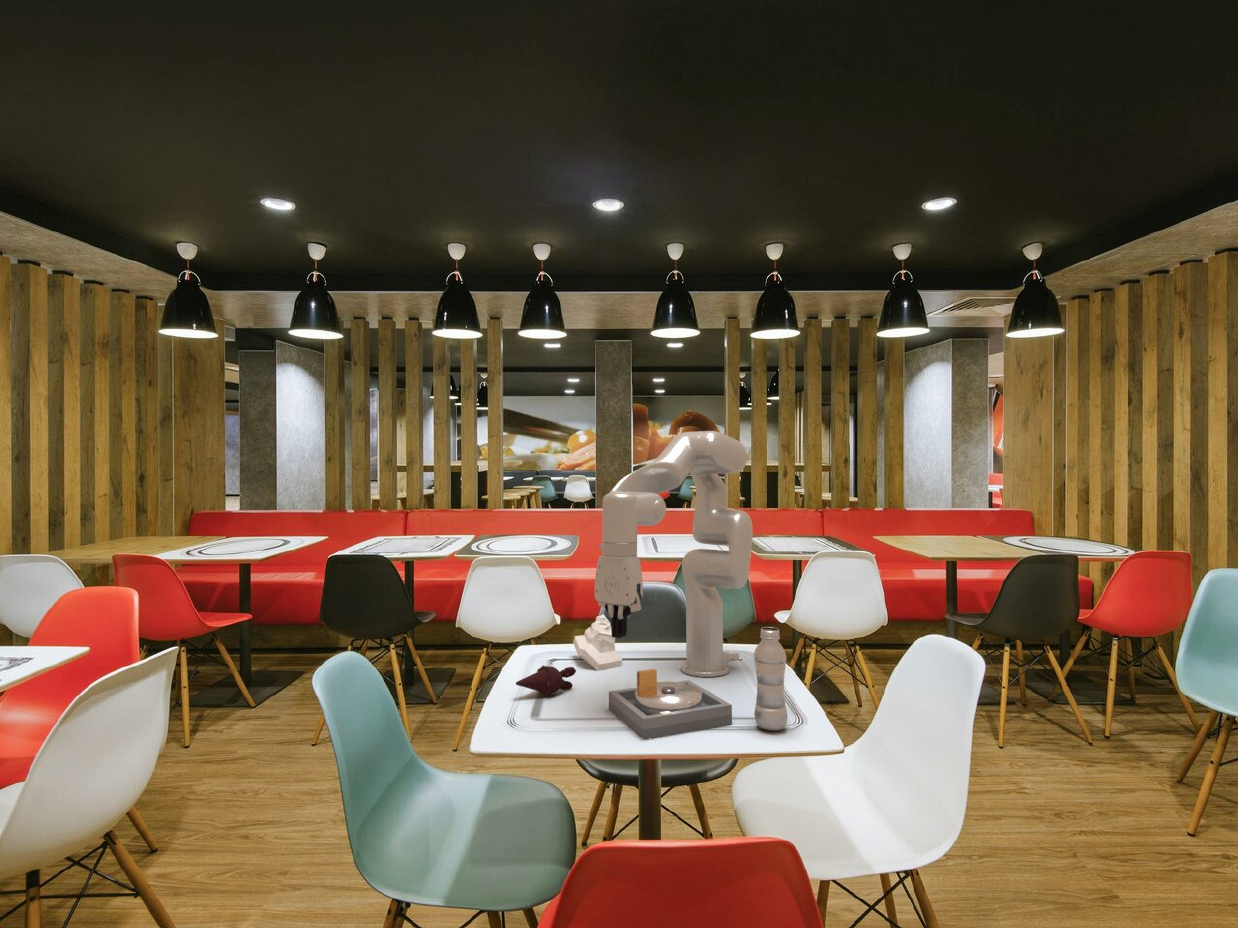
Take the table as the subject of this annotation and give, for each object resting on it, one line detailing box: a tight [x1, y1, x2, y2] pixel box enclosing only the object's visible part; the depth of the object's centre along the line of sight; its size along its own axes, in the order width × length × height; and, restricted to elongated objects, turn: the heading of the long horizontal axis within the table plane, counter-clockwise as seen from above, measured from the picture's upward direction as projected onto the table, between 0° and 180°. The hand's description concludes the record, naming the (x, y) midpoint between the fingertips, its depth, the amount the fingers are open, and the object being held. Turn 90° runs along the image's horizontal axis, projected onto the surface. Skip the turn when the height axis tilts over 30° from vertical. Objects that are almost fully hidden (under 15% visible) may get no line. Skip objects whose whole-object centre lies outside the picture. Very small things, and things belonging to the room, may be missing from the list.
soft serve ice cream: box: [573, 614, 623, 671], centre depth 182 cm, size 12×15×14 cm
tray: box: [608, 679, 733, 740], centre depth 141 cm, size 20×18×4 cm
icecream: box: [515, 665, 577, 698], centre depth 156 cm, size 7×7×15 cm
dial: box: [635, 668, 702, 715], centre depth 141 cm, size 14×14×8 cm
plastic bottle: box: [753, 626, 789, 732], centre depth 135 cm, size 6×7×20 cm
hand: (619, 636), depth 143 cm, fingers closed
